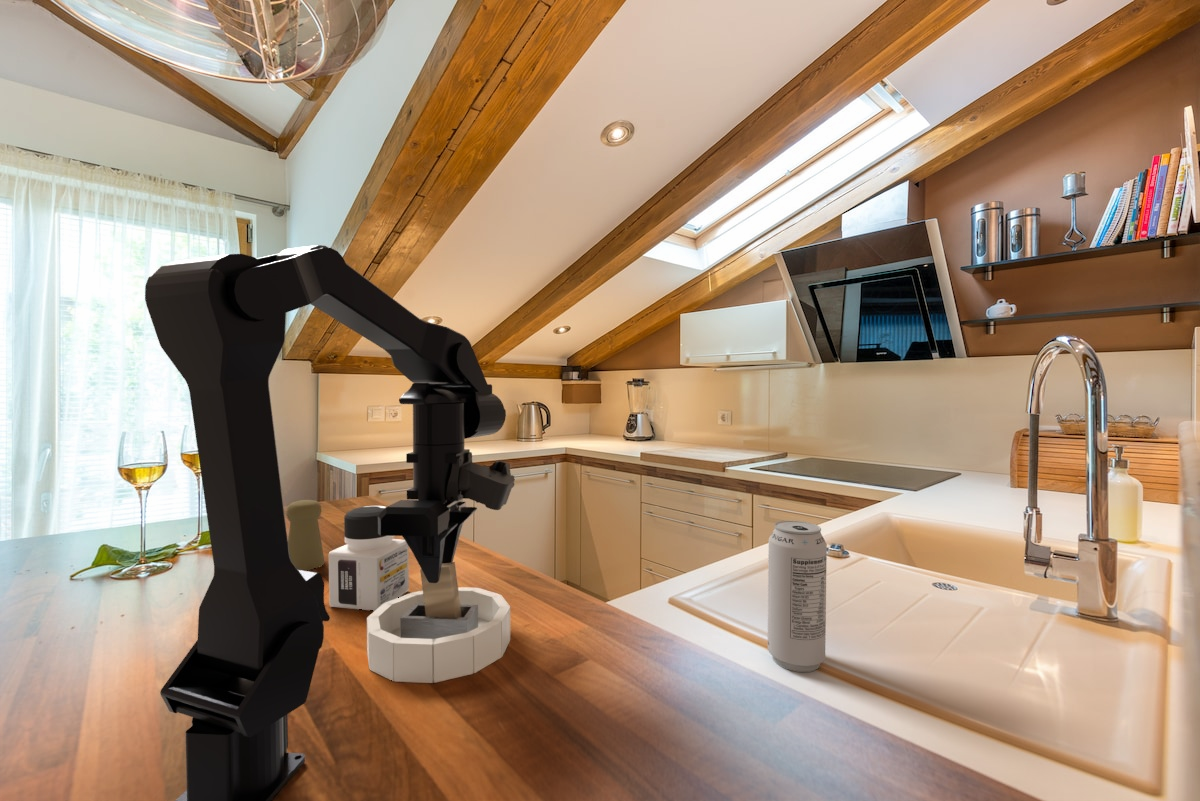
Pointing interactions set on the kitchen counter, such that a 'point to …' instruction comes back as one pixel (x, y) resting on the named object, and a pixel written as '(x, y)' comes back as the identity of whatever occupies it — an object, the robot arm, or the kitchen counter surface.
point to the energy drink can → (797, 595)
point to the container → (367, 564)
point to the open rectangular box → (437, 623)
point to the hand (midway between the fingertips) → (440, 576)
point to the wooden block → (442, 593)
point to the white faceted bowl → (437, 640)
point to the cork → (305, 534)
